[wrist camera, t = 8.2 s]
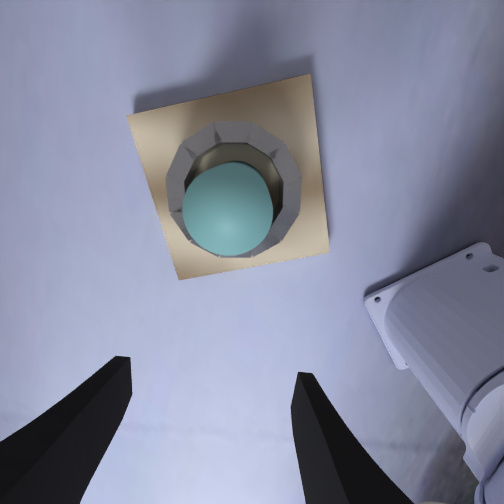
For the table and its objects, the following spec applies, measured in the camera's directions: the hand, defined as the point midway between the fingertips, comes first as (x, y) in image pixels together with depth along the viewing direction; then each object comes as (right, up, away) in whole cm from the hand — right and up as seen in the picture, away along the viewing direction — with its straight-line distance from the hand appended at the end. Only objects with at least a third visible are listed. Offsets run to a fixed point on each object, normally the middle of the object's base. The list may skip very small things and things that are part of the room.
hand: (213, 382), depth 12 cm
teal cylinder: (+1, +9, +6) cm, 11 cm away
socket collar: (+1, +10, +7) cm, 12 cm away
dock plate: (+1, +10, +7) cm, 12 cm away
